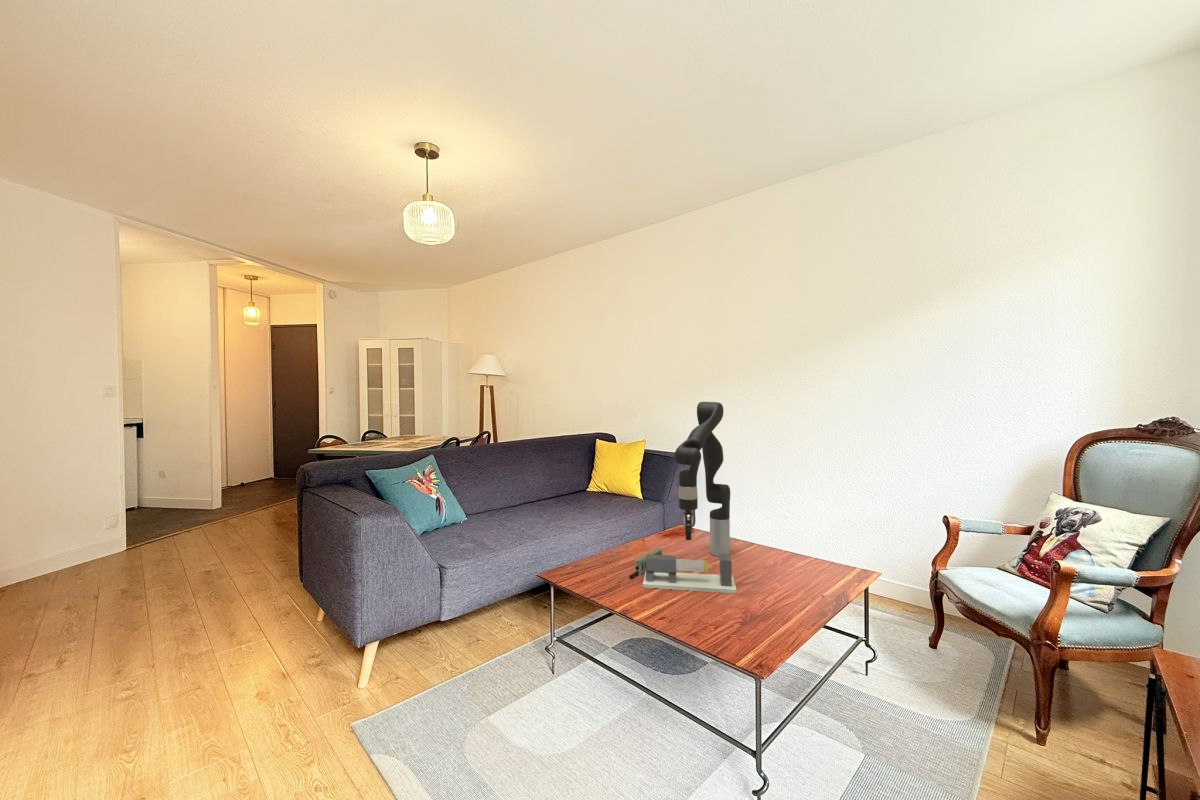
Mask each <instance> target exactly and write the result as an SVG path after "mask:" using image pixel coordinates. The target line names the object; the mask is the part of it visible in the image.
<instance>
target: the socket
mask: <svg viewBox="0 0 1200 800" xmlns="http://www.w3.org/2000/svg"><path fill="white" fill-rule="evenodd" d="M732 566H733V565H732V557H731V553H730V554H721V553H720V556H719V575H720V582H721V586H732V576H733V575H732V571H733V570H732V569H733V568H732Z"/></svg>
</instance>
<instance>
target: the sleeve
mask: <svg viewBox="0 0 1200 800" xmlns="http://www.w3.org/2000/svg"><path fill="white" fill-rule="evenodd" d="M646 554H647V553H646ZM676 559H677V555H668V554H662V555H653V554H647V556H646V581H649V582H653V581H654V575H655V572H656V573H668V583H676V573H677V570H676Z"/></svg>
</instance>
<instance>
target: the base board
mask: <svg viewBox="0 0 1200 800" xmlns="http://www.w3.org/2000/svg"><path fill="white" fill-rule="evenodd" d="M735 583H736V582H735V578H734V575H732V586H721V582H720V574H712V573H711V574H710V573H709V574H708V573H706V574H705V573H693V572H690V573H689V572H676V583H668V573H656V572H655V575H654V581H653V582H649V581H646V572H645V573H644V576H643V581H642V588H643V587H645V588H644V589H653V588H659V589H658V590H669V589H672V590H673V591H674V590H675V591H686V590H689V592H691V591H692V592H707V593H719V592H720V593H724V594H738V593H737V586H736V584H735Z"/></svg>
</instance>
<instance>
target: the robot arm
mask: <svg viewBox="0 0 1200 800" xmlns="http://www.w3.org/2000/svg"><path fill="white" fill-rule="evenodd" d="M696 417H697V422H698V425H697V426H695V427H694V428H693V429H692V430H691V431H690V434H689V435H688V437H687V438H686V439H685V440H684V441H682V443H681V444H679V446H678V447H677V448H676V449H675V451H674V461H675V462H676V463H677V464H679V465H683V466H690V467H689V468H688V469H686V470H681V471H680V472H679V474H678V479H679V480H678V486H679V487H678V508H679V509H680V510H684V512H683V513H682V515H683V516H682V517H683V525H684V526H685V528H684V531H685V541H691V540H692V530H693V528H692V526H693V524H694V523H693V521H694V520H693V519H694V512H692V511H695V510H697V509H698V508H699V507H698V497H699V496H698V472H699V468H700V467H699V466H700V464H701V460H702V459H703V465H704V474H705V475H704V476H705V477H704V478H705V494H706V500H707V502H708V503H711V504H719V505H721V506H720V507H719V508H715V509H712V510H710V511H709V553H710V555H712V556H715V557H720V553H721V554H730V555H731V547H730V546H731V542H730V541H731V537H730V536H731V531H730V527H731V526H730V519H731V518H730V517H731V515H730V512H731V510H730V509H731V506H730V505H731V488H730V486H729V485H728V484H725V483H724V484H723V483H715V482H714V478H715V477H716V475H717V473H718V471H719V469H720V468H721V467H722V464H723V463H724V449H723V446H722V443H721V442H720V440H719V439H718V438H717V436H715V434H714V432H713V431H714V430H715V429H716V428H717V426H718V425H719V424H720V422H721V421H722V420H723V417H724V406H723V404H722V403H721V402H718V401H700V402H698V404H697V406H696ZM701 450H702V451H701ZM701 452H702V453H701Z"/></svg>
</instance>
